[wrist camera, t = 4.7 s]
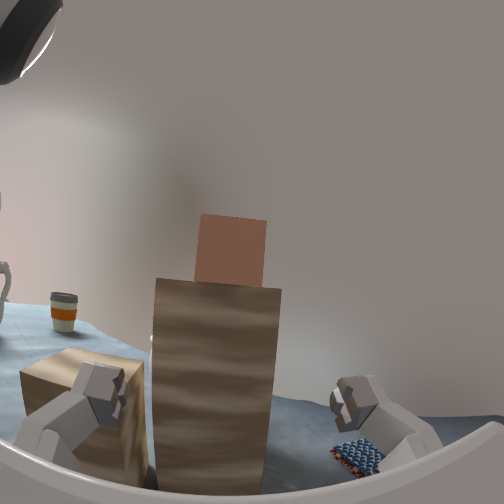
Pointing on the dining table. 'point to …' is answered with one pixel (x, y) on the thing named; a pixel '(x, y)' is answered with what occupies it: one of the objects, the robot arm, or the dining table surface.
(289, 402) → the dining table surface
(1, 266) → the ceramic pitcher
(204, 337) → the stand
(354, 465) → the woven mat
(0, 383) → the dining table surface
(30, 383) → the base block
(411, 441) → the robot arm
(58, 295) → the reusable coffee cup
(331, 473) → the dining table surface
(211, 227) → the rod
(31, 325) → the dining table surface
